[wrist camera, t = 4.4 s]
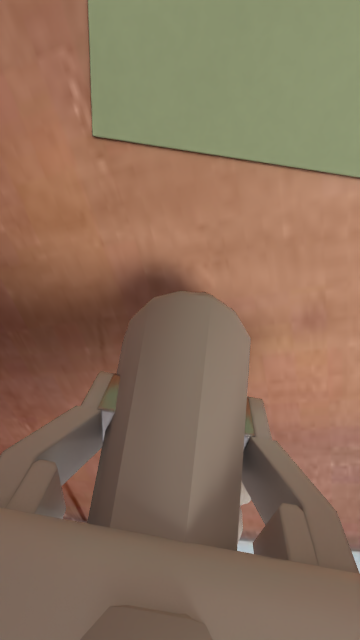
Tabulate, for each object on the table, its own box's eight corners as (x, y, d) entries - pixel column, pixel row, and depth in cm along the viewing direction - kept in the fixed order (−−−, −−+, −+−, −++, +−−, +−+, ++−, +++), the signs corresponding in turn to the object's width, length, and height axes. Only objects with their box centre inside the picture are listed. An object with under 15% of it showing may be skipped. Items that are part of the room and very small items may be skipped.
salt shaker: (127, 275, 13) (-436, 1013, 2) (245, 269, 12) (711, 1611, 1) (146, 366, 16) (-8, 849, 5) (242, 365, 15) (337, 945, 4)
